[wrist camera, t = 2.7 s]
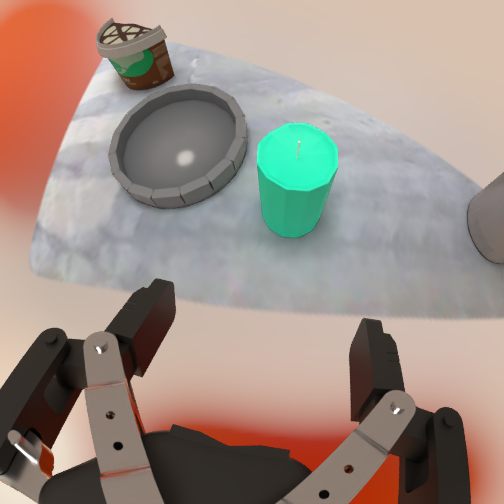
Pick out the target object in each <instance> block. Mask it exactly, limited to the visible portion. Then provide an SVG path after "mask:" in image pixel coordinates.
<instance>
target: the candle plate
mask: <svg viewBox="0 0 504 504" xmlns="http://www.w3.org/2000/svg"><path fill="white" fill-rule="evenodd" d="M114 133H115V134H113V137H112V141H111V145H110V149H109V153H108V154H109V155H108V156H109V161H110V166H111V171H112V175H113V176H114V177H115V178H116V179H117V181H118V182H119V183H120V184H121V185H122V186H123V187H124V188H125V189H126V190H127V191H128V192H129V193H130V195H131V196H132V197H133V198H135V199H137V200H139V201H140V202H142V203H144V204H146V205H149V206H153V207H158V208H179V207H184V206H188V205H192V204H195V203H197V202H200V201H202V200H204V199H206V198H208V197H210V196H212V195H213V194H215V193H216V192H218V191H219V190H220V189H221V188H223V187H224V186H225V185H226V184H227V183H228V182H229V181H230V180H231V179H232V178H233V176H234V175H235V174H236V172H237V171H238V169H239V168H240V166H241V164H242V162H243V159H244V157H245V153H246V149H247V135H246V121H245V115H244V113H243V112H242V110H241V108H240V107H239V105H238V103H237V102H236V100H235V98H234V97H232V96H230V95H229V94H227V93H225V92H224V91H222V90H220V89H218V88H217V87H216V88H215V87H213V86H207V85H200V84H186V85H179V86H173V87H169V88H166V89H164V90H161V91H159V92H157V93H155V94H152V95H150V96H148V97H147V99H146V98H145V99H143V100H142V101H141V102H140V103H139V104H137V105H136V106H135V107H134V108H133V109H131V110H130V111H129V112H128V114H126V115H125V117H124V118H123V120H122V121H121V123H120V124H119V126H118V127H117V129H116V130H115V132H114Z"/></svg>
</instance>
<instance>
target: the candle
mask: <svg viewBox="0 0 504 504" xmlns="http://www.w3.org/2000/svg"><path fill="white" fill-rule="evenodd" d="M337 169H338V147H337V146H336V145H335V143H334V142H333V141H332V140H331V138H330V137H329V136H328V135H327V134H326V133H325V132H323V131H321V130H319V129H318V128H316V127H314V126H312V125H310V124H308V123H287V124H285V125H283V126H281V127H279V128H277V129H275V130H274V131H272V132H270V133H269V134H268V135H267V136H266V137H265V138H264V139H263V140H262V141H260V142H259V143H258V153H257V170H258V179H259V189H260V198H261V208H262V216H263V218H264V220H265V222H266V224H267V226H268V228H269V229H270V230H272V231H274V232H275V233H277V234H278V235H280V236H282V237H292V238H299V237H301V236H303V235H305V234H307V233H309V232H311V231H312V230H313V228H314V227H315V225H316V224H317V222H318V220H319V219H320V216H321V213H322V210H323V208H324V205H325V202H326V200H327V197H328V194H329V191H330V188H331V186H332V183H333V180H334V177H335V174H336V171H337Z"/></svg>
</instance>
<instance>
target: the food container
mask: <svg viewBox="0 0 504 504" xmlns="http://www.w3.org/2000/svg"><path fill="white" fill-rule="evenodd" d="M166 37H167V36H166V34H165V33H164V30H163V29H162V28H161V26H160V25H159V26H157V27H156V28H154V29H150V28H146V27H142V26H139V25H136V24H120V23H115V22H114V20H113V18H111V19H110V20H109V21H107V22H106V23H105V24H104V25H103V26H102V27H101V28H100V30H99V32H98V33H97V36H96V45H97V49H98V52H99V54H100V55H101V56H102V57H105V58H108V59H109V61H110V62H111V64H112V65H113V66H114V68H115V69H116V71H117V72H118V74H119V75H120V77H121V78H122V80H123V81H124V82H125V84H126V85H127V86H128V87H129V88H130V89H133V90H146V89H150V88H153V87H156V86H159V85H161V84H163V83H165V82H166V81H168V80H169V79H171V78H172V77H173V76H174V73H173V69H172V65H171V62H170V58H169V54H168V51H167V47H166V43H165V40H164V39H165V38H166Z"/></svg>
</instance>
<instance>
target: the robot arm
mask: <svg viewBox="0 0 504 504" xmlns="http://www.w3.org/2000/svg"><path fill="white" fill-rule="evenodd" d="M468 226H469V230H470V234H471V236H472V239H473V241H474V243H475V245H476V246H477V248H478V250H479V251H480V252H481V253H482V255H484V256H485V257H486V258H487V259H488V260H490V261H492V262H495V263H504V172H503V173H502V174H501V175H500V176H498V177H497V178H496V179H495V180H494V181H493V182H491V183H490V184H489V185H488V186H487V187H485V188H484V189H483V190H482V191H481V192H479V193H478V194H477V195H476V196H475V197H474V198H473V199H472V200H471V202H470V204H469V208H468ZM175 313H176V306H175V292H174V284H173V282H171V281H166V280H162V279H157V278H156V279H155V280H154V281H153V282H152V283H151V285H150V286H149V287H148V288H145V287H142V288H141V289H139V290H138V291H136V292H134V293H133V294H132V296H131V297H130V298H129V299H128V301H127V302H126V304H125V305H124V306H123V308H122V309H121V310H120V311H119V312H118V314H117V315H116V316H115V318H114V319H113V320H112V322H111V323H110V324H109V326H108V327H107V328H106V330H105V331H103V332H102V331H101V332H96V333H93V334H91V335H90V336H89V337H88V338H87V339H86V340H79V339H68V338H67V336H66V334H65V332H64V331H63V330H62V329H59V328H50V329H47V330H45V331H43V332H42V333H41V334H40V335H39V336H38V338H37V339H36V340H35V342H34V343H33V344H32V346H31V347H30V348H29V349H28V351H27V352H26V354H25V355H24V356H23V358H22V359H21V360H20V362H19V363H18V365H17V366H16V367H15V369H14V370H13V372H12V373H11V374H10V376H9V377H8V379H7V380H6V382H5V383H4V385H3V386H2V388H1V389H0V481H2V482H3V483H4V484H6V485H9V486H11V487H12V488H14V489H16V490H17V491H20V492H21V493H23V494H24V495H26V496H27V497H29V498H30V499H32V500H33V501H35V502H37V503H38V504H348V503H349V502H350V501H351V500H352V499H353V498H354V497H355V496H356V495H357V493H358V492H359V491H360V490H361V489H362V488H363V487H364V485H365V484H366V483H367V482H368V481H369V480H370V478H371V477H372V476H373V474H375V472H376V471H377V470H378V468H379V467H380V466H381V465H382V463H383V462H384V461H385V459H386V458H387V456H388V455H389V453H390V454H393V455H396V456H399V458H400V459H399V460H400V462H399V463H400V465H399V495H398V504H471V495H470V478H469V467H468V457H467V449H466V442H465V435H464V428H463V422H462V418H461V417H460V415H459V413H458V412H457V411H455V410H454V409H452V408H449V407H443V408H440V409H439V410H437V411H436V412H435V413H432V412H429V411H426V410H423V409H420V408H418V407H416V406H415V402H414V400H413V399H412V397H411V396H410V395H408V394H407V393H405V388H404V382H403V377H402V372H401V366H400V363H399V356H398V351H397V346H396V343H395V341H394V340H393V338H392V337H391V335H390V334H386V333H383V328H382V323H381V321H380V320H374V319H367V318H363V319H362V321H361V323H360V325H359V328H358V330H357V332H356V335H355V337H354V339H353V341H352V344H351V347H350V353H349V365H350V389H351V390H350V393H351V421H356V422H359V426H358V427H357V429H355V430H354V431H353V432H352V433H351V434H350V435H349V436H348V437H347V439H346V440H345V441H344V442H343V443H342V444H341V445H340V446H339V447H338V448H337V449H336V450H335V451H334V452H333V453H332V454H331V455H330V456H329V457H328V458H327V459H326V460H325V461H324V462H323V463H322V464H321V465H320V466H319V467H318V468H317V469H316V470H315V471H314V472H312V471H311V470H310V469H309V468H307V467H306V466H305V465H303V464H302V463H300V462H299V461H297V460H294V459H292V458H290V457H289V452H290V450H286V449H279V448H273V447H267V446H261V445H259V446H228V445H225V444H223V443H221V442H219V441H217V440H215V439H213V438H211V437H209V436H207V435H205V434H203V433H201V432H199V431H195V430H191V429H188V428H185V427H181V426H178V425H174V424H173V425H172V427H171V430H170V431H153V432H150V433H146V431H145V429H144V426H143V423H142V421H141V418H140V414H139V411H138V407H137V404H136V400H135V397H134V393H133V389H132V386H131V382H130V380H131V378H132V377H133V375H137V376H140V377H143V375H144V374H145V372H146V370H147V368H148V366H149V365H150V363H151V361H152V359H153V357H154V355H155V354H156V352H157V350H158V348H159V346H160V345H161V343H162V341H163V339H164V337H165V336H166V334H167V332H168V330H169V329H170V327H171V325H172V323H173V321H174V318H175ZM83 389H85V398H86V405H87V412H88V417H89V423H90V428H91V433H92V438H93V443H94V448H95V452H96V456H97V457H95V458H93V459H91V460H89V461H86V462H84V463H82V464H80V465H77V466H75V467H73V468H71V469H68V470H65V471H63V472H61V473H58V474H56V475H54V476H52V471H53V469H54V456H53V453H52V452H51V448H52V446H53V444H54V442H55V440H56V438H57V436H58V435H59V433H60V430H61V429H62V427H63V425H64V423H65V421H66V419H67V417H68V415H69V413H70V412H71V410H72V408H73V406H74V404H75V402H76V400H77V398H78V397H79V395H80V393H81V391H82V390H83Z"/></svg>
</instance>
